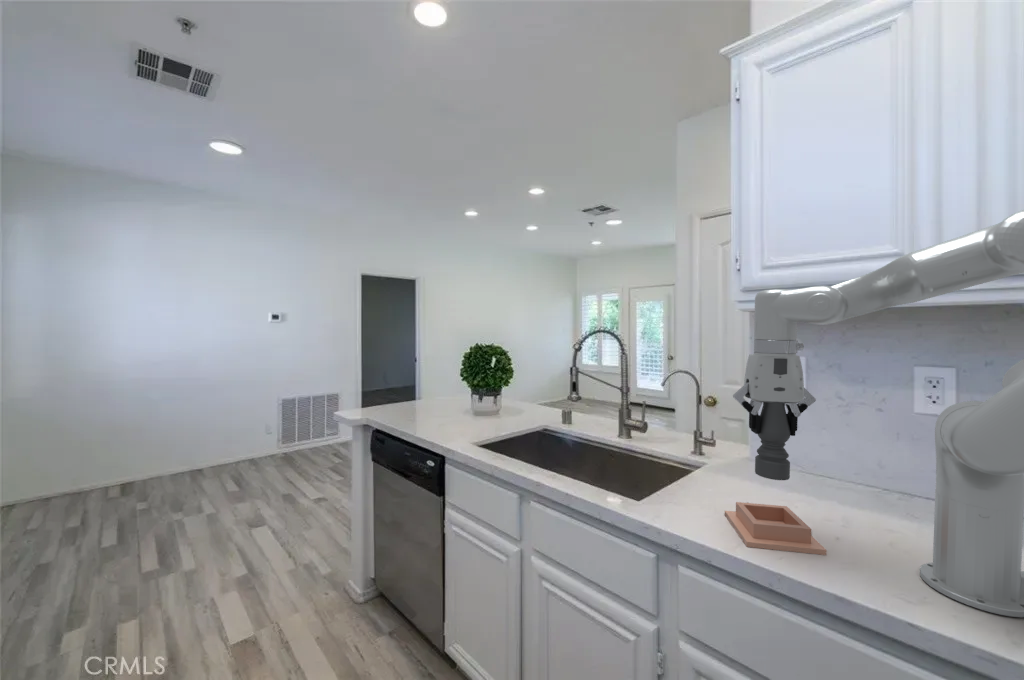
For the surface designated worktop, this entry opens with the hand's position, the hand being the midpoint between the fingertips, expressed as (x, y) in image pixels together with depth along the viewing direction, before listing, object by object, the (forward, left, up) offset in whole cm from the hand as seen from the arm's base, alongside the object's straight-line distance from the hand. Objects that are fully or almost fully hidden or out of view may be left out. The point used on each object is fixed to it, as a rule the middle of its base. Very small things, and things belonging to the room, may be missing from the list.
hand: (772, 432), depth 85 cm
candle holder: (0, 0, -9) cm, 9 cm away
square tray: (0, 0, -22) cm, 22 cm away
